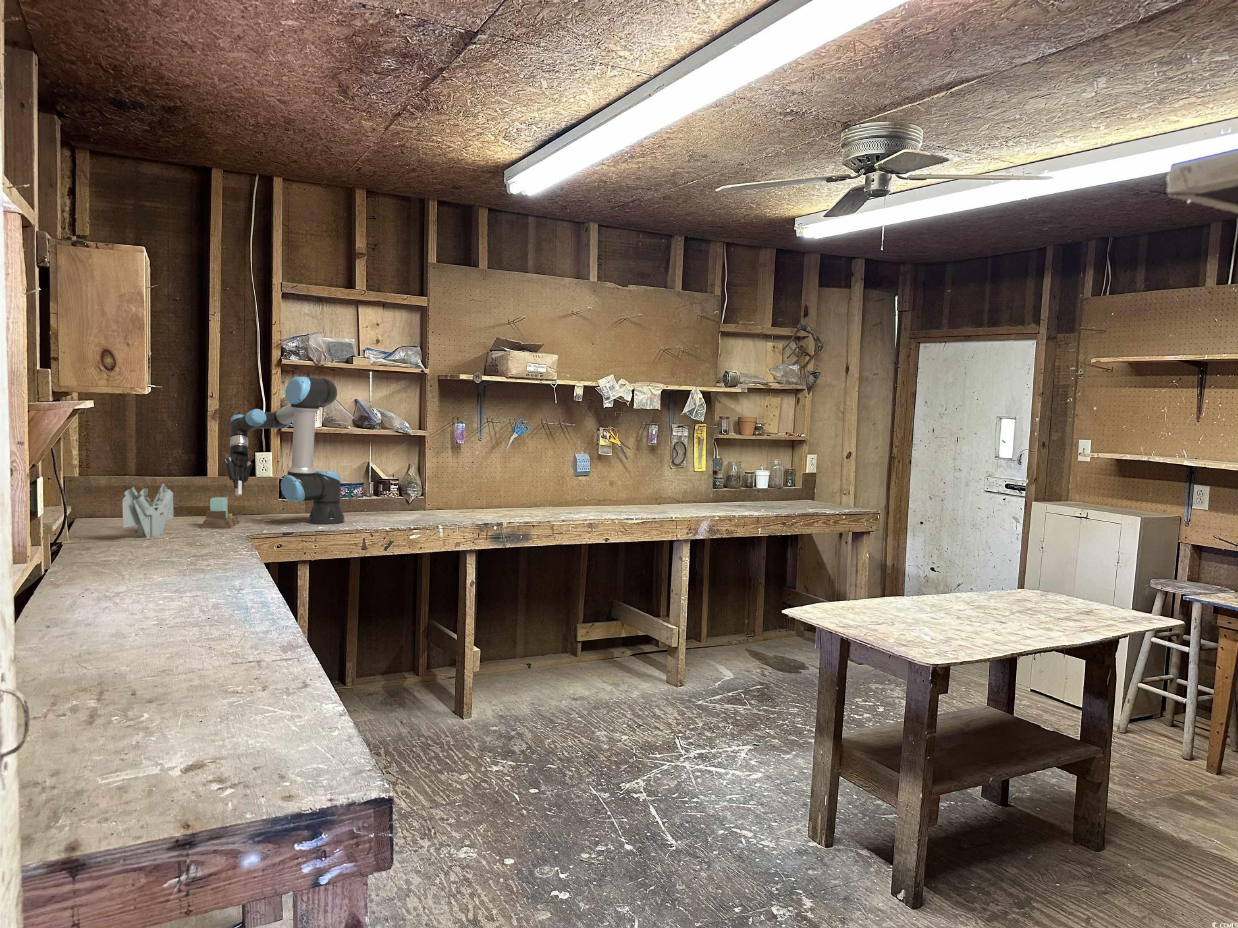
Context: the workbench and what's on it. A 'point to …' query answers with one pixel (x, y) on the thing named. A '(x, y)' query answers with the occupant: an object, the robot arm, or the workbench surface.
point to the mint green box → (219, 505)
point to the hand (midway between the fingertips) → (238, 495)
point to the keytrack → (219, 520)
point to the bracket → (147, 511)
